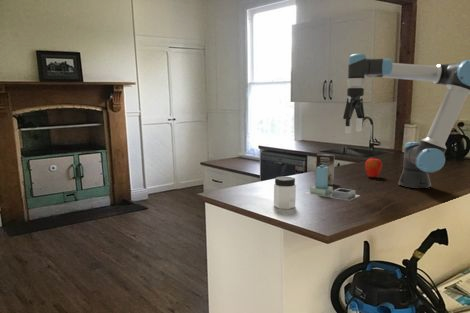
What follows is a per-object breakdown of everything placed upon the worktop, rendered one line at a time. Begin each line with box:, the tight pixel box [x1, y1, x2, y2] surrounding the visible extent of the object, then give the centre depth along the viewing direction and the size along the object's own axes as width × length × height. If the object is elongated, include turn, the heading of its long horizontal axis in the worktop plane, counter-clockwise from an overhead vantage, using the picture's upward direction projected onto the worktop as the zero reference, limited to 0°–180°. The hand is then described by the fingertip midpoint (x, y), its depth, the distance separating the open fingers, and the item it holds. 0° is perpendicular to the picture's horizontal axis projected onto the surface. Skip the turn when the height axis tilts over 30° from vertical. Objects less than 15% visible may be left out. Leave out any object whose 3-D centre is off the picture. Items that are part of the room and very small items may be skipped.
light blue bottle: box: [315, 165, 329, 189], centre depth 180 cm, size 4×4×13 cm
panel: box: [305, 185, 361, 201], centre depth 177 cm, size 22×12×4 cm, turn 51°
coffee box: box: [314, 153, 336, 186], centre depth 201 cm, size 9×6×16 cm
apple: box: [364, 157, 383, 178], centre depth 221 cm, size 9×9×12 cm
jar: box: [273, 176, 297, 210], centre depth 159 cm, size 9×8×12 cm
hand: (353, 132), depth 185 cm, fingers open, 13 cm apart
